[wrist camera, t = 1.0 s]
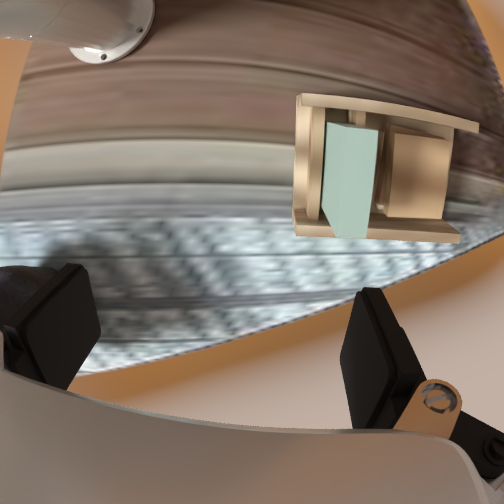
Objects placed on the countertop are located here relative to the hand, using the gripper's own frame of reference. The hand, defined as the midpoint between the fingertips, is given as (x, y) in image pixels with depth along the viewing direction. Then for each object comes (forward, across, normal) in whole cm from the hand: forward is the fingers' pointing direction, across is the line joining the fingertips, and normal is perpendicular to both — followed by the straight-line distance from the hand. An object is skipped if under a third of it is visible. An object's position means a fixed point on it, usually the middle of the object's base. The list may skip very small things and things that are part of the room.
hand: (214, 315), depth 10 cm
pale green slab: (+28, -8, -2) cm, 29 cm away
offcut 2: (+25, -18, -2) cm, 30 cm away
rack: (+30, -14, -2) cm, 33 cm away
